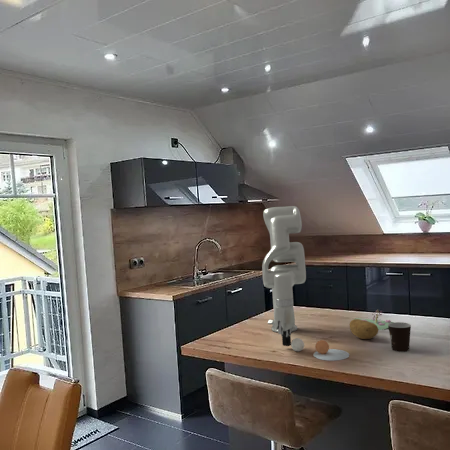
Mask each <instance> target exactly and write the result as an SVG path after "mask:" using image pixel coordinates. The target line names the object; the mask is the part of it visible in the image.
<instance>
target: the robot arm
mask: <svg viewBox="0 0 450 450" xmlns="http://www.w3.org/2000/svg"><path fill="white" fill-rule="evenodd" d="M262 213H263V214H262V215H263V220H264V223H265V226H266V228H267V231H268V233H269V239H270V240H269V242H270V250H269V252H267V253H266V255H265V256H264V259H263V260H262V265H261V267H262V270H261V272H262V282H263V286H264V287H265V288H266V289H271V292H272V293H271V294H272V305H273V319H268V320H267V321H268V322H267V325H271V331H272V332H274V333H278V335H281V340H282V343H281V344H282V346H284V347H291V342H292V339H291V337H292V336H291V335H292V332H295V331H297V330H298V326H297V325H296V322H295V321H296V317H295V316H296V315H295V310H294V293H293V292H294V291H293V287H294V286H295V285H301V284H305V282H306V280H307V271H306V270H307V269H306V258H305V256H306V255H305V248H304V245H303V244H302V243H301V242H298V241H293V242H292V241H291V242H290V235H291V234H298V233H301V231H302V227H303V226H302V225H303V222H302V221H303V220H302V216H301V212H300V208H299V207H297V206H296V205H289V206H275V207H274V206H273V207H269V208H265V209H264V210H263V212H262ZM271 261H274V263H290V262H291V263H295V264H277V265H273V266H272V267H271V268H270V269H269V265H270V263H271Z"/></svg>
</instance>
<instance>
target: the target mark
mask: <svg viewBox="0 0 450 450" xmlns="http://www.w3.org/2000/svg"><path fill="white" fill-rule="evenodd" d="M313 357H314V358H316V359H318V360H321V361H328V362H329V361H330V362H333V361H334V362H335V361H342V360H346V359H348V358H349V357H350V353H349V352H348V351H347V350H343V349H335V348H329V350H328V352H327V353H325V354H320V353H318V352H317V351H315V352H313Z"/></svg>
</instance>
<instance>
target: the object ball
mask: <svg viewBox="0 0 450 450" xmlns="http://www.w3.org/2000/svg"><path fill="white" fill-rule="evenodd" d="M329 349H330V345H329V343H328V342H327V341H326V340H323V339H320V340H318V341H317V342H316V344H315V350H316V351H315V352H318V353H320V354H325V353H327V352H328V350H329Z"/></svg>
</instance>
